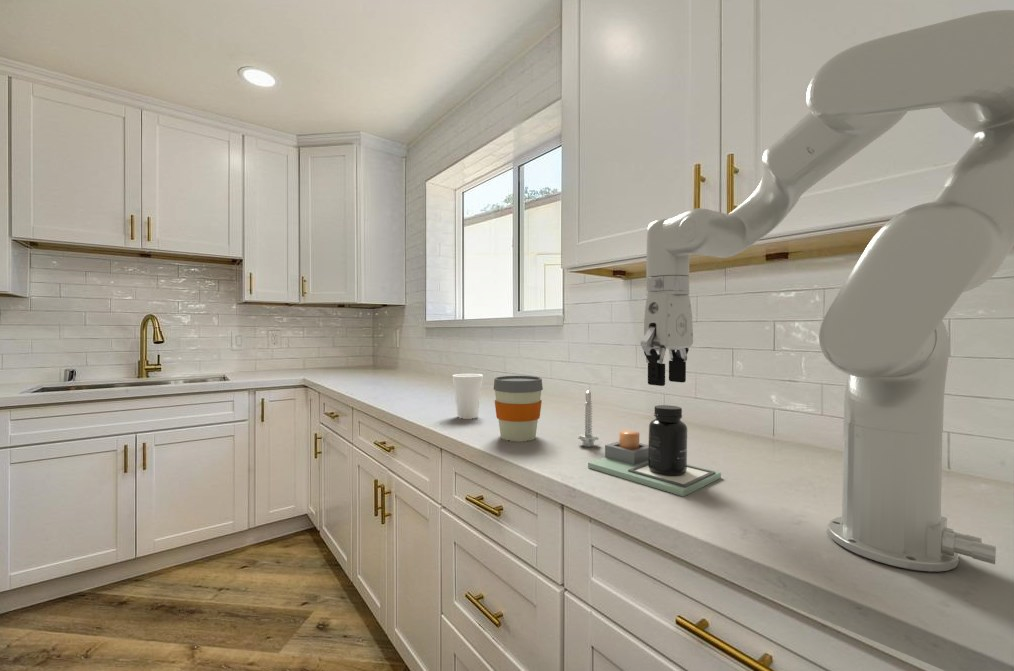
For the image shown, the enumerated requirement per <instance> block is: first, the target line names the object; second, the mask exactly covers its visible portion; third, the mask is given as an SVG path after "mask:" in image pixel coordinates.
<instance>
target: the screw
mask: <svg viewBox="0 0 1014 671" xmlns="http://www.w3.org/2000/svg"><path fill="white" fill-rule="evenodd" d="M592 402H593V401H592V393H591V391H589V390H587V391H586V392H585V401H584V433H580V434H579V435H578V436H577V439H579V440H581V441H582V446H583V447H588V448H591V447H594V446H595V444H594V443H595V442H596V441H598V440H599V436H598V435H597V434H595V433H593V423H592V422H593V418H592V417H593V411H592V410H593V403H592Z"/></svg>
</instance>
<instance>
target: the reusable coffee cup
mask: <svg viewBox="0 0 1014 671" xmlns="http://www.w3.org/2000/svg"><path fill="white" fill-rule="evenodd" d="M543 389H544V387H543V378H542V377H539V376H533V375H503V376H497V377H495V378H494V380H493V390H494V395H495V399H494V407H495V414H496V418H497V419H498V426H499V433H500V438H501V439H502V440H504V439H505V440H504V441H508V440H510V441H509V442H528V441H527V440H529V441H533V440H535V439H536V437H537V430H538V429H537V428H538V421H539V419H540V418H541V417H540V416H541V409H542V402H543V401H542V399H541V396H542V391H543ZM532 439H533V440H532Z"/></svg>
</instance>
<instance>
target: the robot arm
mask: <svg viewBox="0 0 1014 671" xmlns="http://www.w3.org/2000/svg"><path fill="white" fill-rule="evenodd" d="M805 96H806V98H805V100H806V102H805V103H806V105H807V109H808V110H809V112H808V113H807V114H806V115H805V116H804V117H802V118H801V119H800V120H799V121H797V123H795V124H794V125H792V126H791V127H790V128H789V129H788V130H787V131H786V132H784V134H782V135H781V136H780V137H779V138H778V139H776V140H775V141H774V142H773V143H771V144H770V145H769V146H768V147H767V148H766V149H765V150H764V152H763V154H762V158H761V159H762V160H761V161H762V176H761V180H760V182H759V184H758V186H757V187H756V189H755V190H754V191H753V192H752V194H750V196H749V197H748V198H747V199H745V200H744V201H743V202H742V203H741V204H739V205H737V207H735V208H734V209H733V210H732V211H730V212H729V213H723V212H720V211H716V210H712V209H709V208H708V209H707V208H703V207H701V208H700V207H698V208H693V209H690V210H687V211H685V212H682V213H680V214H678V215H676V216H673V217H670V218H662V219H657V220H654V221H652V222H650V223H649V224H648V227H647V229H646V280H645V281H646V284H645V285H646V289H645V290H646V291H645V292H646V299H645V300H646V301H645V307H644V319H643V338H642V339H641V341H640V346H641V348H642V350H643V354H644V357H646V358H645V361H646V363H647V385H650V386H658V387H664V386H665V385H666V363H663V362H664V359H665V355H666V351H667V349H668V352H669V356H670V359H671V360H669V361H668V381H669V382H673V383H681V384H682V383H686V382H687V379H686V378H687V371H686V370H687V361H688V354H689V348H690V347H692V346H693V343H694V335H693V334H694V331H693V326H694V325H693V312H692V304H691V298H690V255H697V256H706V257H707V256H708V257H713V258H720V259H726V258H730V257H734V256H736V255H738V254H740V253H742V252H743V251H745V250H746V249H748V248H749V247H751V246H753V245H754V244H755V243H758V242H759V241H760V240H761V239H763V238H764V237H766V236H767V235H769V233H771V232H772V231H773V230H774V229H775V228H777V227H778V226H779V224H781V223H782V222H783V221H784V219H785V218H786V217H787V216H788V214H790V212H791V211H792V209H794V207H795V206H796V204H797V203H798V201H799V200H800V199H801V197H802V196H803V194H805V192H808V190H809V189H811V188H812V187H813V186H815V185H816V184H818V182H820V181H821V180H823V179H824V178H825V177H827V176H829V174H831V173H832V172H833V171H835V170H836V169H837V168H839V167H840V166H842V165H843V164H844V163H846V162H847V161H849V160H850V159H851V158H852V157H854V156H855V155H858V153H860V152H861V151H863V150H864V149H865V148H866V147H868V146H869V145H870V144H872V143H873V142H875V141H876V140H877V139H879V138H880V137H881V136H883V135H884V134H886V133H887V132H888V131H890V130H891V129H892V128H893V127H895V125H897V124H898V123H899V122H900V121H901V120H902V119H903V118H904V117H905V116H906V114H907V113H908V112H910V111H911V112H913V111H919V110H928V109H936V108H940V109H941V111H942V112H943V113H944V114H945V115H947V116H948V118H950V119H951V120H952V121H953V122H954V123H956V124H957V125H959V126H961V127H963V128H964V129H966V130H967V131H969V132H970V134H972V142H971V144H970V147H969V148H968V150H966V151H965V153H963V155H962V156H961V158H959V160H958V161H957V162H956V164H954V165H953V167H952V169H951V171H950V172H949V173H948V175H947V176H946V178H945V181H944V182H943V183H942V186H941V187H940V189H939V190H938V192H937V193H936V194H935V196H934V198H933V199H932V200H931V202H927V203H926V202H925V203H922V204H917V205H915V206H912V207H909V208H907V209H905V210H903V211H901V212H900V213H897V215H895V216H893V217H892V218H891V219H890V220H888V221H887V222H886V223H885V224H884V225H883V226H882V227H881V228H880V229H879V230H877V232H876V233H875V234H874V236H872V238H871V240H870V241H869V242H868V244H867V246H866V247H865V249H864V251H863V252H862V253H861V255H860V257H859V258H858V260H857V262H856V264H855V265H854V267H853V268H852V270H851V271H850V273H849V274H848V277H847V278H846V280H845V281H844V283H843V285H842V286H841V287H840V290H839V291H838V293H837V294H836V297H835V298H834V300H833V301H832V303H831V305H830V306H829V308H828V309H827V312H826V313H825V315H824V317H823V319H822V322H821V324H820V328H819V334H818V340H819V348H820V349H821V352H822V354H823V356H824V358H825V359H826V360H827V362H829V363H830V365H831V366H833V367H834V368H836V369H837V370H839V371H840V372H842V373H844V374H846V375H847V378H846V382H845V391H844V402H843V404H844V405H843V426H842V428H843V433H842V434H843V436H842V438H843V440H842V441H843V442H842V443H843V444H842V496H841V497H842V504H841V505H842V506H841V507H842V509H841V511H842V512H841V513H842V514H841V516H839V517H835V518H833V519H832V520H829V522H828V523H827V532H828V533H827V534H828V536H829V537H830V538H831V539H832V540H833V541H834V542H835V543H836V544H838V545H840V546H841V547H843V548H844V549H846V550H848V551H850V552H852V553H854V554H856V555H858V556H861V557H864V558H866V559H869V560H873V561H875V562H878V563H881V564H885V565H889V566H892V567H897V568H901V569H907V570H913V571H920V572H945V571H950V570H952V569H956V568H957V566H958V565H959V558H960V556H959V555H963V556H967V557H969V558H972V559H974V560H978V561H981V562H984V563H988V564H992V565H996V560H997V558H996V557H997V546H996V545H992V544H987V543H984V542H982V537H979V536H978V537H977V536H975V535H971V534H970V535H969V534H964V533H960V532H956V531H954V529H953V528H950V527H948V526H947V525H948V518H947V517H945V516H942V477H943V475H942V470H943V469H942V467H943V432H944V412H945V411H944V408H945V407H944V406H945V405H944V404H945V389H946V379H947V374H948V373H947V371H948V364H949V356H950V339H949V332H948V330H947V327H946V325H945V323H944V318H945V317H946V316H947V314H948V313H949V312H950V310H951V309H952V308H953V306H954V305H955V304H956V303H957V301H958V299H959V298H960V297H961V295H962V294H963V293H966V292H970V291H971V290H974V289H977V288H979V287H980V286H981V285H983V284H984V283H986V282H988V281H989V280H990V279H991V278H992V277H993V276H994V275H995V274H996V273H997V272H998V270H999V269H1000V268H1001V266H1002V264H1003V263H1004V261H1005V260H1006V259H1007V256H1008V255H1009V254H1010V252H1011V251H1012V249H1013V248H1014V10H1013V9H1002V10H1001V9H1000V10H999V9H997V10H988V11H983V12H982V11H981V12H979V13H974V14H969V15H965V16H961V17H957V18H953V19H949V20H944V21H941V22H937V23H933V24H929V25H926V26H922V27H917V28H913V29H910V30H909V29H908V30H906V31H902V32H897V33H893V34H890V35H886V36H882V37H879V38H876V39H875V38H874V39H872V40H868V41H865V42H862V43H858V44H856V45H854V46H851V47H848V48H846V49H844V50H843V51H841V52H838V53H837V54H836V55H834V56H833V57H831V58H829V59H828V60H827V61H826V62H825V63H824V64H822V65H821V67H819V69H818V70H817V71H816V73H815V74H814V75H813V77H812V78H811V80H810V82H809V83H808V86H807V90H806V94H805Z"/></svg>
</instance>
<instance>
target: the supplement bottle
mask: <svg viewBox="0 0 1014 671" xmlns="http://www.w3.org/2000/svg"><path fill="white" fill-rule="evenodd" d="M682 412H683V409H682V407H680V406H677V405H668V404H665V405H664V404H662V405H660V404H659V405H654V413H653V416H654V418H655V419H652V420H651V421H650V422H649V424H648V445H649V450H648V466H649V469H650V470H651V471H652V472H655V473H657V474H661V475H667V476H679V475H683V474H685V473H686V471H687V464H688V427H687V425H686V424H685V422H683V420H681V419H683V413H682Z"/></svg>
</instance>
